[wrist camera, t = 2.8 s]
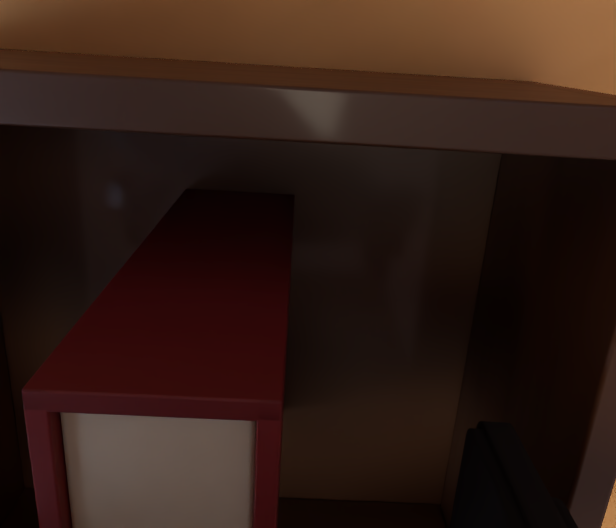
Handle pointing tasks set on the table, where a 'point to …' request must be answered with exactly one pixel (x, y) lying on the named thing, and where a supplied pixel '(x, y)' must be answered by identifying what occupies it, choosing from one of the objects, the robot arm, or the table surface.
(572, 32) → the table surface
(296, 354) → the chest
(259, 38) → the table surface
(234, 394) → the book
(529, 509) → the robot arm
